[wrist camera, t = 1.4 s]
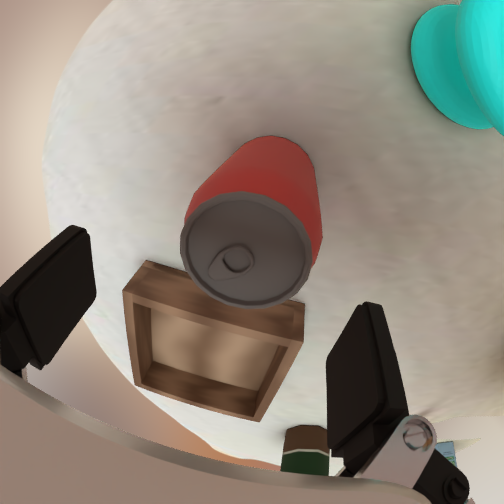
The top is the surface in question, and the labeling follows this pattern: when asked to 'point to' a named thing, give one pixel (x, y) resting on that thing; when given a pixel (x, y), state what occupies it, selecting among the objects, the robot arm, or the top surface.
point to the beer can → (254, 226)
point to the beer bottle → (306, 451)
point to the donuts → (463, 61)
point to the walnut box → (207, 344)
